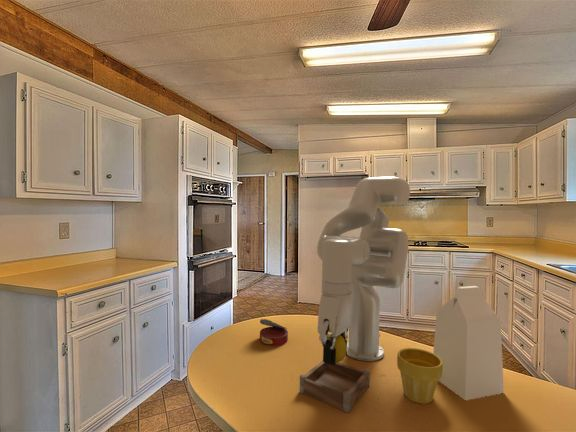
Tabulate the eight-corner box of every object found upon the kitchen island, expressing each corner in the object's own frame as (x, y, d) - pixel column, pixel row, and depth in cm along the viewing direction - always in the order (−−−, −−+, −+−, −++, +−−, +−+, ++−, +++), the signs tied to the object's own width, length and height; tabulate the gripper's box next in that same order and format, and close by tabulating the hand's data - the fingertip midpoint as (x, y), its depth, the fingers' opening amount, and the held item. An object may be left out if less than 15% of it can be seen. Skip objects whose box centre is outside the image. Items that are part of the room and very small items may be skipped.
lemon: (345, 370, 76) (346, 337, 76) (323, 367, 77) (323, 335, 77) (346, 359, 81) (346, 329, 81) (325, 357, 83) (325, 327, 82)
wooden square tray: (324, 369, 89) (324, 356, 89) (370, 385, 81) (370, 370, 81) (298, 392, 78) (298, 376, 78) (348, 413, 70) (348, 396, 70)
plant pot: (443, 391, 79) (444, 353, 79) (439, 414, 70) (440, 371, 70) (400, 379, 84) (401, 344, 84) (392, 399, 76) (393, 359, 75)
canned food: (259, 352, 110) (252, 323, 114) (285, 344, 114) (278, 316, 118) (267, 349, 100) (260, 318, 104) (295, 341, 104) (287, 311, 108)
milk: (465, 400, 76) (468, 294, 75) (431, 375, 87) (433, 283, 86) (503, 393, 79) (506, 291, 78) (466, 370, 90) (468, 280, 89)
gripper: (338, 280, 88) (337, 343, 88) (305, 292, 74) (304, 367, 74) (363, 284, 84) (362, 350, 84) (334, 297, 70) (332, 377, 70)
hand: (335, 357), depth 79 cm, fingers closed on lemon, 5 cm apart
